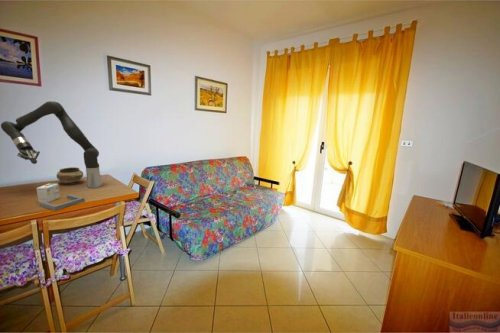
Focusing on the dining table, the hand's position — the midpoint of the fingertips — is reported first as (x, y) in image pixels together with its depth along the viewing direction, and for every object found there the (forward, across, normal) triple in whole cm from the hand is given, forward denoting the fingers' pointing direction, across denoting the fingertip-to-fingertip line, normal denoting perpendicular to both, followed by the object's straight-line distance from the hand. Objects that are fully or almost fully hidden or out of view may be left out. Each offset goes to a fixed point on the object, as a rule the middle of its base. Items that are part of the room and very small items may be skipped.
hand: (35, 163), depth 156 cm
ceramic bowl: (+10, +28, +25) cm, 39 cm away
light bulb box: (+30, -3, +5) cm, 30 cm away
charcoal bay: (+39, -3, -5) cm, 39 cm away
